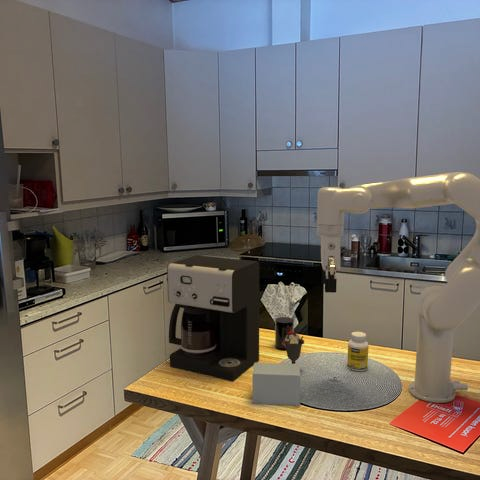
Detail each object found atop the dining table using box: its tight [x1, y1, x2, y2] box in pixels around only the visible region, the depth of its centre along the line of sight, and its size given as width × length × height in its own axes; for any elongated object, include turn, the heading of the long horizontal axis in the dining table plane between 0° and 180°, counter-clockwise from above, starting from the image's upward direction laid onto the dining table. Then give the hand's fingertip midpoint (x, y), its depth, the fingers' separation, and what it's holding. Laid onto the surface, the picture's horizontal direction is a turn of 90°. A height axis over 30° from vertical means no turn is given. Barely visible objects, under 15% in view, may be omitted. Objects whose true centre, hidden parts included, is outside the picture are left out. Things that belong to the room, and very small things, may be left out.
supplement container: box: [274, 316, 295, 351], centre depth 176 cm, size 7×7×10 cm
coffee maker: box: [166, 254, 260, 382], centre depth 161 cm, size 28×20×35 cm
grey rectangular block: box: [252, 362, 301, 406], centre depth 138 cm, size 13×8×9 cm, turn 85°
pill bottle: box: [346, 331, 370, 372], centre depth 158 cm, size 6×6×12 cm
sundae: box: [283, 326, 305, 372], centre depth 156 cm, size 7×7×15 cm
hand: (328, 287), depth 142 cm, fingers open, 9 cm apart
